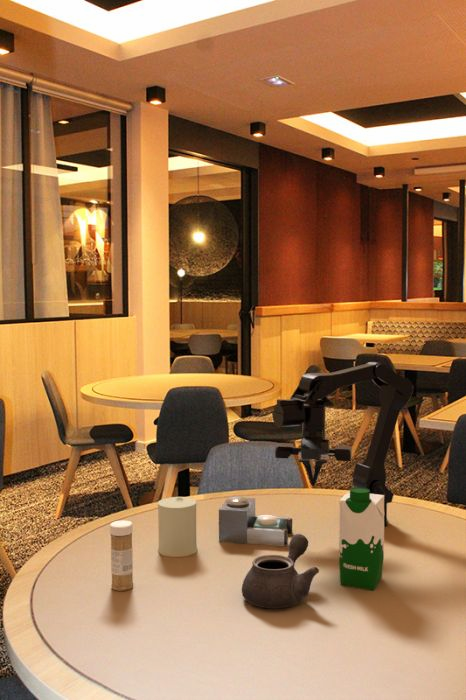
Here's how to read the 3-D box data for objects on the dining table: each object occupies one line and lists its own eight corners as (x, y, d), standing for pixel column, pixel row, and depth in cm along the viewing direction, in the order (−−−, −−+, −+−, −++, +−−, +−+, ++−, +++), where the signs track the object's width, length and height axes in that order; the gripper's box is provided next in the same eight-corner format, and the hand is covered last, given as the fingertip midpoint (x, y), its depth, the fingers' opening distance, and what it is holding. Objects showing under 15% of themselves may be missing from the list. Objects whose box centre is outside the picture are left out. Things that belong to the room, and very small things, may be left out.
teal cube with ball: (280, 535, 178) (280, 514, 178) (277, 543, 172) (277, 522, 172) (256, 533, 179) (256, 513, 179) (253, 541, 173) (253, 521, 173)
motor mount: (292, 531, 180) (293, 496, 180) (287, 546, 170) (287, 509, 169) (228, 527, 184) (228, 493, 183) (218, 541, 173) (218, 505, 172)
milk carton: (334, 585, 146) (335, 490, 145) (347, 570, 155) (347, 480, 153) (377, 593, 143) (378, 495, 141) (387, 577, 151) (388, 484, 149)
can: (199, 543, 172) (199, 495, 171) (194, 557, 163) (193, 506, 162) (162, 542, 173) (161, 494, 172) (154, 556, 163) (153, 505, 163)
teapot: (309, 620, 131) (310, 567, 130) (232, 607, 137) (231, 556, 136) (334, 582, 148) (334, 535, 148) (264, 571, 154) (264, 526, 153)
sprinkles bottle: (129, 581, 149) (128, 518, 148) (136, 589, 145) (135, 524, 144) (108, 585, 147) (107, 521, 146) (114, 593, 143) (113, 528, 142)
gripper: (271, 428, 172) (271, 492, 173) (349, 431, 168) (349, 496, 169) (278, 420, 183) (278, 480, 184) (352, 423, 179) (351, 484, 180)
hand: (313, 485), depth 179 cm, fingers closed
